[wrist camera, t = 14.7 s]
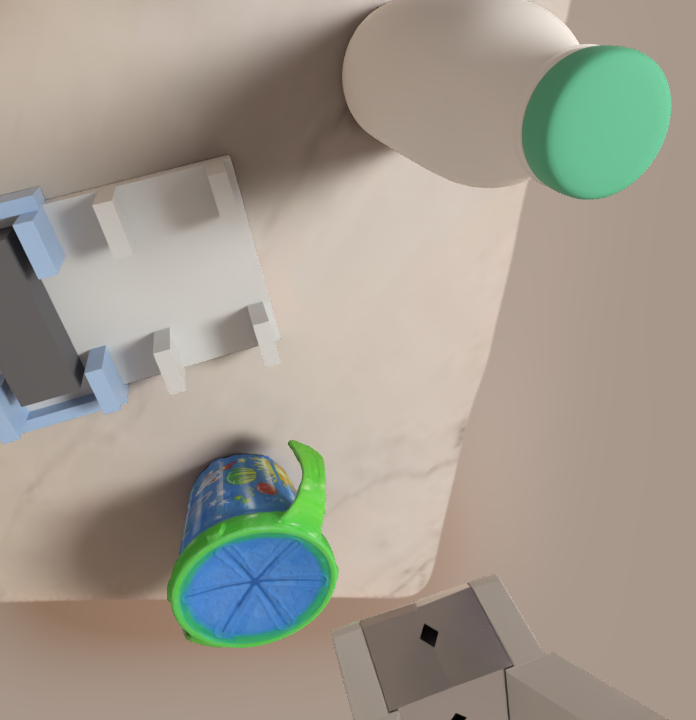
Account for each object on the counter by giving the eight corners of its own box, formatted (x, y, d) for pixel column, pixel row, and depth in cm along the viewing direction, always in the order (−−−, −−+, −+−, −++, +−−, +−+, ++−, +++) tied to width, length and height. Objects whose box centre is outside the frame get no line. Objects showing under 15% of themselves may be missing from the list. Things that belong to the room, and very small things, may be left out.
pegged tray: (-103, 220, 33) (-133, 244, 30) (225, 140, 36) (231, 153, 32) (14, 419, 40) (0, 457, 37) (281, 342, 43) (291, 371, 39)
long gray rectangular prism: (-50, 241, 34) (-65, 257, 31) (14, 225, 34) (4, 239, 32) (29, 384, 38) (21, 407, 36) (84, 368, 39) (80, 390, 37)
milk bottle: (381, 168, 39) (550, 291, 22) (313, 52, 35) (456, 93, 18) (485, 93, 38) (741, 160, 21) (428, -34, 34) (690, -78, 17)
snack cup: (250, 381, 44) (271, 472, 35) (356, 447, 49) (397, 540, 40) (119, 530, 47) (109, 647, 38) (232, 577, 52) (245, 689, 43)
